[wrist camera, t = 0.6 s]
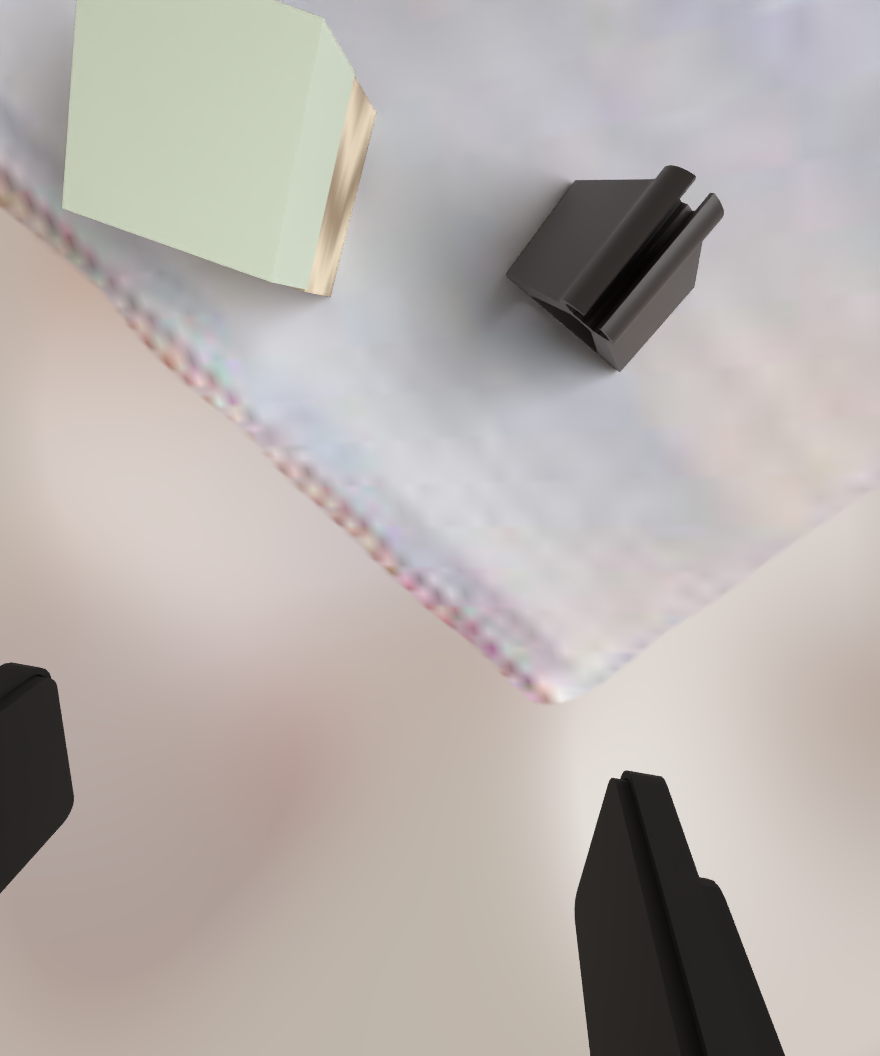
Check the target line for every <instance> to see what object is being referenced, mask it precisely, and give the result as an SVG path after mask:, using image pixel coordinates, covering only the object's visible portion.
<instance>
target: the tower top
mask: <svg viewBox="0 0 880 1056" xmlns="http://www.w3.org/2000/svg"><path fill="white" fill-rule="evenodd" d="M354 77H355V72H354V70H353V68H352V67H351V65H350V63H349V61H348V60H347V58H346V56H345V54H344V53H343V51H342V49H341V48H340V46H339V44H338V42H337V41H336V39H335V37H334V35H333V34H332V32H331V30H330V28H329V27H328V25H327V23H326V21H325V20H324V18H322V17H320V16H317V15H314V14H311V13H308V12H306V11H303V10H300V9H297V8H295V7H292V6H289V5H286V4H283V3H281V2H278V1H275V0H76V14H75V28H74V43H73V57H72V71H71V86H70V100H69V114H68V129H67V143H66V157H65V172H64V186H63V200H62V209H65V210H68V211H71V212H74V213H76V214H79V215H82V216H85V217H88V218H91V219H93V220H96V221H99V222H102V223H105V224H107V225H110V226H113V227H116V228H119V229H122V230H124V231H127V232H130V233H133V234H136V235H139V236H141V237H144V238H147V239H150V240H153V241H156V242H158V243H161V244H164V245H167V246H170V247H172V248H175V249H178V250H181V251H184V252H187V253H189V254H192V255H195V256H198V257H201V258H204V259H206V260H209V261H212V262H215V263H218V264H221V265H223V266H226V267H229V268H232V269H235V270H237V271H240V272H243V273H246V274H249V275H252V276H254V277H257V278H260V279H263V280H266V281H269V282H272V283H277V284H281V285H286V286H291V287H296V288H301V289H305V290H307V288H308V283H309V279H310V274H311V270H312V265H313V261H314V256H315V252H316V247H317V243H318V238H319V234H320V229H321V225H322V220H323V216H324V211H325V207H326V202H327V198H328V193H329V189H330V184H331V180H332V175H333V171H334V166H335V162H336V157H337V153H338V148H339V144H340V139H341V135H342V131H343V126H344V122H345V116H346V112H347V107H348V103H349V98H350V94H351V89H352V85H353V80H354Z"/></svg>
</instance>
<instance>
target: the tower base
mask: <svg viewBox="0 0 880 1056" xmlns="http://www.w3.org/2000/svg"><path fill="white" fill-rule="evenodd" d="M375 117H376V111H375V110H374V108H373V106H372V105H371V103H370V101H369V100H368V98H367V96H366V95H365V93H364V91H363V90H362V88H361V86H360V85H359V83H358V81H357V80H356V78H355V77H354V80H353V85H352V89H351V94H350V98H349V103H348V107H347V112H346V116H345V122H344V126H343V131H342V135H341V139H340V144H339V148H338V153H337V157H336V162H335V166H334V171H333V175H332V180H331V184H330V189H329V193H328V198H327V202H326V207H325V211H324V216H323V220H322V225H321V229H320V234H319V238H318V243H317V247H316V252H315V256H314V261H313V265H312V270H311V274H310V279H309V283H308V288H307V290H305V289H301V288H296V287H293V288H295V289H298V290H301V291H303V292H308V293H313V294H319V295H324V296H329V297H331V293H332V289H333V285H334V281H335V277H336V273H337V269H338V265H339V261H340V257H341V253H342V249H343V245H344V241H345V237H346V233H347V229H348V225H349V221H350V217H351V213H352V209H353V205H354V201H355V197H356V193H357V189H358V185H359V181H360V177H361V173H362V169H363V165H364V161H365V157H366V153H367V149H368V145H369V141H370V137H371V133H372V129H373V125H374V121H375ZM290 287H291V286H290Z"/></svg>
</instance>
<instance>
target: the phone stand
mask: <svg viewBox="0 0 880 1056" xmlns="http://www.w3.org/2000/svg"><path fill="white" fill-rule="evenodd" d="M695 178H696V176H695V175H694V174H692V173H690V172H689V171H687V170H685V169H683V168H680V167H677V166H672V165H670V166H666V167H664V169H663V170H662V171H661V172H660V174H659V175H658V176H657V178H656V179H645V180H575V182H574V183H573V184H572V186H571V187H570V188H569V190H568V191H567V192H566V194H565V195H564V196H563V198H562V199H561V201H560V202H559V203H558V205H557V206H556V207H555V209H554V210H553V211H552V213H551V214H550V215H549V217H548V218H547V220H546V221H545V222H544V224H543V225H542V226H541V228H540V229H539V230H538V232H537V233H536V234H535V236H534V237H533V238H532V240H531V241H530V243H529V244H528V245H527V247H526V248H525V249H524V251H523V252H522V253H521V255H520V256H519V257H518V259H517V260H516V262H515V263H514V264H513V266H512V267H511V268H510V270H509V271H508V272H507V274H506V276H507V277H508V278H509V279H511V280H512V281H513V282H514V283H515V284H517V285H518V286H519V287H520V288H521V289H522V290H524V291H525V292H526V293H527V294H528V295H529V296H531V297H532V298H533V299H534V300H535V301H536V302H538V303H539V304H540V305H541V306H542V307H543V308H545V309H546V310H547V311H548V312H549V313H551V314H552V315H553V316H554V317H555V318H556V319H558V320H559V321H560V322H561V323H563V324H564V325H565V326H566V327H567V328H568V329H569V330H570V331H572V332H573V333H574V334H575V335H576V336H577V337H579V338H580V339H581V340H582V341H583V342H585V343H586V344H587V345H588V346H589V347H590V348H592V349H593V350H594V351H595V352H596V353H597V354H599V355H600V356H601V357H602V358H603V359H604V360H606V361H607V362H608V363H609V364H610V365H612V366H613V367H614V368H615V369H616V370H618V371H619V372H620V371H621V370H622V369H623V368H624V367H625V366H626V365H627V363H628V362H629V361H630V360H631V359H632V358H633V357H634V355H635V354H636V353H637V352H638V351H639V350H640V349H641V347H642V346H643V345H644V344H645V343H646V342H647V341H648V339H649V338H650V337H651V336H652V335H653V334H654V333H655V331H656V330H657V329H658V328H659V327H660V326H661V325H662V323H663V322H664V321H665V320H666V319H667V318H668V316H669V315H670V314H671V313H672V312H673V311H674V310H675V308H676V307H677V306H678V305H679V304H680V303H681V302H682V300H683V299H684V298H685V297H686V296H687V295H688V294H689V292H690V291H691V290H692V289H693V288H694V285H695V280H696V274H697V269H698V263H699V257H700V252H701V246H702V241H703V240H704V239H705V238H706V236H707V235H708V234H709V233H710V232H711V230H712V229H713V228H714V227H715V226H716V225H717V223H718V222H719V221H720V220H721V219H722V217H723V215H724V210H723V207H722V205H721V203H720V201H719V199H718V198H717V196H716V195H715V194H714V193H710V194H709V195H708V196H707V197H706V199H705V200H704V201H703V202H702V203H701V205H700V206H699V207H698V208H697V209H696V211H692V210H691V208H690V207H689V206H688V204H685V203H682V202H681V200H680V198H681V196H682V195H683V194H684V193H685V192H686V190H687V189H688V188H689V187H690V185H691V184H692V183H693V182H694V181H695Z"/></svg>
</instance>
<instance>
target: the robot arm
mask: <svg viewBox="0 0 880 1056" xmlns="http://www.w3.org/2000/svg"><path fill="white" fill-rule="evenodd" d="M73 802H74V795H73V788H72V781H71V775H70V768H69V762H68V755H67V748H66V742H65V736H64V729H63V722H62V715H61V709H60V703H59V695H58V689H57V685H56V682H55V681H54V680H52V679H51V676H50V673H49V672H48V671H47V670H46V669H43V668H39V667H34V666H28V665H22V664H17V663H6V664H3V665H1V666H0V893H1V892H2V891H3V890H4V889H5V888H6V886H7V885H8V884H9V883H10V882H11V881H12V879H14V877H15V876H16V875H17V874H18V873H19V872H20V871H21V870H22V868H23V867H24V866H25V865H26V864H27V863H28V862H29V860H30V859H31V858H32V857H33V856H34V855H35V854H36V853H37V852H38V851H39V849H40V848H41V847H42V846H43V845H44V844H45V843H46V841H47V840H48V839H49V838H50V837H51V836H52V835H53V834H54V833H55V832H56V830H57V829H58V828H59V827H60V826H61V825H62V824H63V823H64V821H65V820H66V819H67V817H68V815H69V813H70V812H71V809H72V806H73ZM575 925H576V934H577V942H578V951H579V960H580V969H581V977H582V986H583V995H584V1004H585V1012H586V1020H587V1030H588V1039H589V1047H590V1056H785V1054H784V1052H783V1049H782V1047H781V1044H780V1041H779V1039H778V1036H777V1033H776V1031H775V1028H774V1025H773V1023H772V1020H771V1018H770V1015H769V1013H768V1010H767V1007H766V1005H765V1002H764V999H763V997H762V994H761V991H760V989H759V986H758V984H757V981H756V979H755V976H754V973H753V970H752V968H751V965H750V963H749V960H748V957H747V955H746V952H745V949H744V947H743V944H742V942H741V939H740V936H739V934H738V931H737V928H736V926H735V924H734V920H733V918H732V915H731V913H730V910H729V907H728V905H727V902H726V900H725V897H724V895H723V893H722V891H721V889H720V888H719V886H718V885H717V884H716V883H715V882H714V881H712V880H709V879H706V878H700V877H699V875H698V873H697V870H696V867H695V864H694V861H693V858H692V855H691V852H690V850H689V847H688V844H687V841H686V838H685V835H684V832H683V829H682V827H681V824H680V821H679V818H678V815H677V812H676V809H675V807H674V804H673V801H672V798H671V795H670V792H669V789H668V786H667V784H666V782H665V780H664V779H663V778H662V777H661V776H655V775H650V774H643V773H638V772H633V771H624V772H623V774H622V776H621V779H615V778H611V779H610V781H609V783H608V787H607V790H606V794H605V797H604V800H603V804H602V807H601V810H600V814H599V817H598V821H597V824H596V828H595V831H594V835H593V838H592V842H591V845H590V848H589V852H588V856H587V859H586V862H585V866H584V869H583V873H582V876H581V879H580V883H579V887H578V890H577V894H576V899H575Z"/></svg>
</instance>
